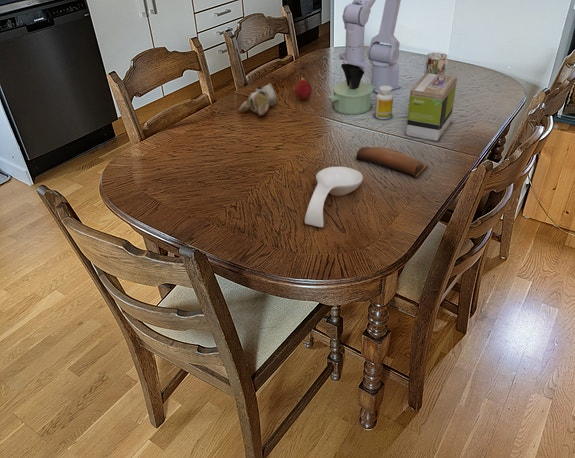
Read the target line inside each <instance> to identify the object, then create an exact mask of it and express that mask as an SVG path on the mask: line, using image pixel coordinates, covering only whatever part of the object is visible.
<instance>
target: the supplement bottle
mask: <svg viewBox="0 0 575 458" xmlns="http://www.w3.org/2000/svg"><path fill="white" fill-rule="evenodd" d="M392 92H393V90H392V87H390V86H381V87H379V93H377V94H376V97H375V109H374V117H375V118H377V119H379V120H388V119H390V118H391V117H392V114H393V105H394V95H393V93H392Z"/></svg>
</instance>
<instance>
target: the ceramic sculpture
mask: <svg viewBox="0 0 575 458" xmlns="http://www.w3.org/2000/svg"><path fill="white" fill-rule="evenodd" d="M276 103H277V95H276V92H275V89H274V87H273V84H272V83H271V82H269V83H268V84H266V85H264V86H257V87H256V88H255V90H253V91H251V93H249V94H248V97H247V100H244V101H243V102H242V103H241V104H240V106H239V107H238V109H236V110H235V112H236V113H246V112H249V111H250V110H251V112H253V113H256V114H257V115H258V117H264V116H266V115H267V114H268V112H269V110H270V107H274V106H275V105H276Z"/></svg>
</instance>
